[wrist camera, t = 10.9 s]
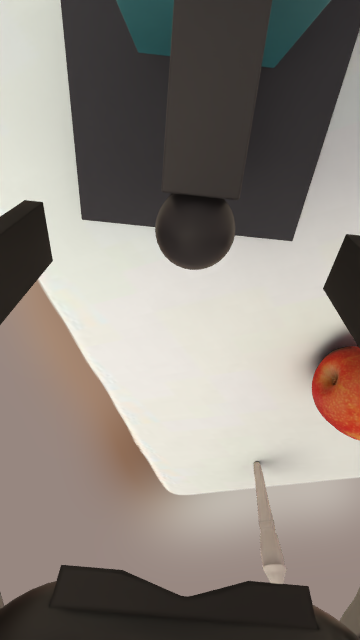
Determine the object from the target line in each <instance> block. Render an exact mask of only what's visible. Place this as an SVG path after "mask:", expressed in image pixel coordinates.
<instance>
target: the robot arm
mask: <svg viewBox="0 0 360 640" xmlns="http://www.w3.org/2000/svg"><path fill="white" fill-rule="evenodd" d="M52 261H53V259H52V254H51V248H50V242H49V236H48V230H47V224H46V219H45V213H44V207H43V202H36V201H26V200H24V201H23V202H21V203H20V204H19V205H17V206H16V207H14V208H13V209H11V210H10V211H8V212H7V213H5V214H4V215H2V216H1V217H0V325H1V323H2V322H3V321H4V320H5V318H6V317H7V316H8V315H9V314H10V312H11V311H12V310H13V309H14V307H15V306H16V305H17V304H18V302H19V301H20V300H21V299H22V297H23V296H24V295H25V294H26V293H27V292H28V290H29V289H30V288H31V286H33V284H34V283H35V282H36V281H37V279H38V278H39V277H40V276H41V275H42V273H43V272H44V271H45V270H46V268H47V267H48V266H49V265H50V264H51V262H52ZM323 289H324V291H325V292H326V294H327V296H328V297H329V299H330V301H331V302H332V304H333V306H334V307H335V309H336V310H337V312H338V314H339V315H340V317H341V319H342V320H343V322H344V324H345V325H346V327H347V329H348V330H349V332H350V334H351V335H352V337H353V338H354V340H355V342H356V343H357V345H358V347H359V348H360V236H359V235H349V234H346V236H345V238H344V241H343V243H342V245H341V248H340V250H339V252H338V255H337V257H336V259H335V262H334V264H333V267H332V269H331V271H330V274H329V276H328V278H327V281H326V283H325V285H324V288H323ZM0 640H360V588H359V590H358V592H357V595H356V597H355V598H354V600H353V601H352V603H351V604H350V606H349V607H348V609H347V610H346V611H345V612H344V614H343V616H342V618H341V620H340V621H338V620H337V619H335V618H334V617H333V616H331V615H330V614H328V613H326V612H324V611H323V610H321V609H319V608H318V607H316V606H314V605H312V600H311V596H310V591H309V587H308V586H299V585H288V584H277V583H265V582H253V581H247V582H243V583H239V584H236V585H232V586H228V587H224V588H221V589H217V590H213V591H209V592H206V593H202V594H198V595H194V596H189V597H184V596H180V595H178V594H175V593H173V592H171V591H168V590H166V589H164V588H162V587H159V586H157V585H155V584H153V583H150V582H148V581H146V580H143V579H141V578H139V577H137V576H134V575H132V574H130V573H128V572H125V571H123V570H115V569H103V568H91V567H79V566H68V565H61V568H60V571H59V575H58V578H57V581H55V582H51V583H47V584H45V585H42V586H40V587H37V588H35V589H32V590H30V591H28V592H26V593H25V594H23V595H21V596H19V597H17V598H16V599H14V600H12V601H11V602H9V603H8V604H7V605H5V606H4V603H3V600H2V596H1V593H0Z"/></svg>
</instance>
